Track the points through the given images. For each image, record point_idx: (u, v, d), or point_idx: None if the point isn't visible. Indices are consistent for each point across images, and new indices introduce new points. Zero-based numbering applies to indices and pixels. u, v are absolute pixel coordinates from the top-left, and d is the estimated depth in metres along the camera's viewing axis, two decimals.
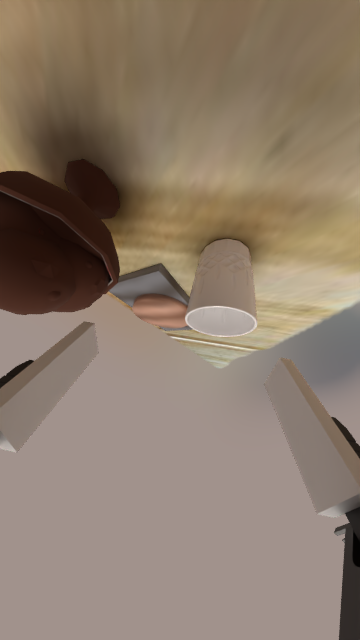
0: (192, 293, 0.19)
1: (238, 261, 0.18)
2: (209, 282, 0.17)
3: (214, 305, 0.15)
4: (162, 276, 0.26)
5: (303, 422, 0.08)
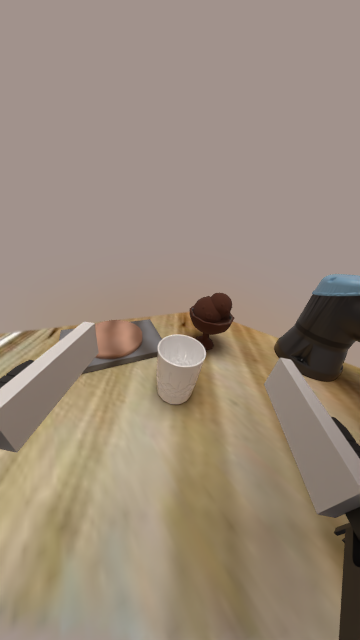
0: None
1: None
2: None
3: (203, 347, 0.28)
4: None
5: (303, 422, 0.08)
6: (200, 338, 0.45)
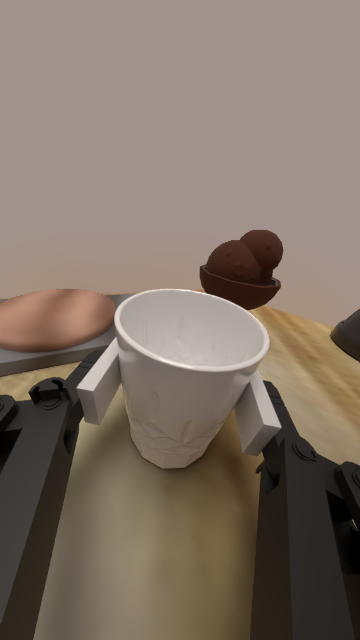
0: None
1: None
2: None
3: None
4: None
5: None
6: None
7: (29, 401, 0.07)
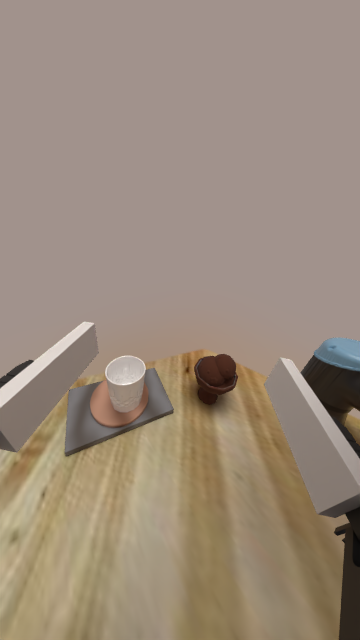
0: None
1: (140, 394, 0.36)
2: None
3: (145, 367, 0.35)
4: (168, 410, 0.39)
5: (303, 422, 0.08)
6: (204, 391, 0.46)
7: None
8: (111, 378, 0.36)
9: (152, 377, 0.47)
